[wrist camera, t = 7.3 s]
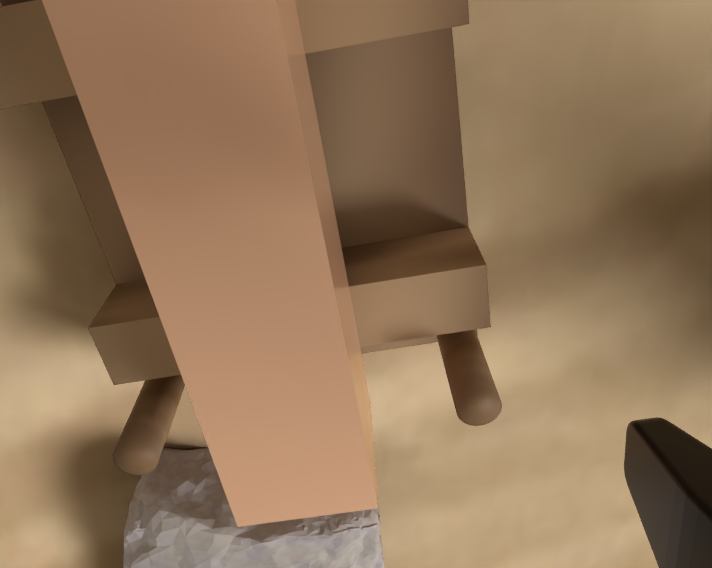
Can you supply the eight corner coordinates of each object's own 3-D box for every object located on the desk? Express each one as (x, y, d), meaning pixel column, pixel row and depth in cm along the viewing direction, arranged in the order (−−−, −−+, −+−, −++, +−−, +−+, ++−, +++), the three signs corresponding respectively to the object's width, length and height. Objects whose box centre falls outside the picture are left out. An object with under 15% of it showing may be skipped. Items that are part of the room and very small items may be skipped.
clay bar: (86, -133, 12) (-21, -167, 8) (263, -167, 12) (232, -216, 8) (256, 417, 18) (237, 527, 15) (370, 401, 18) (378, 508, 15)
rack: (429, -174, 14) (473, -231, 10) (472, 322, 21) (510, 426, 16) (-18, -84, 15) (-174, -99, 10) (163, 370, 22) (117, 483, 17)
